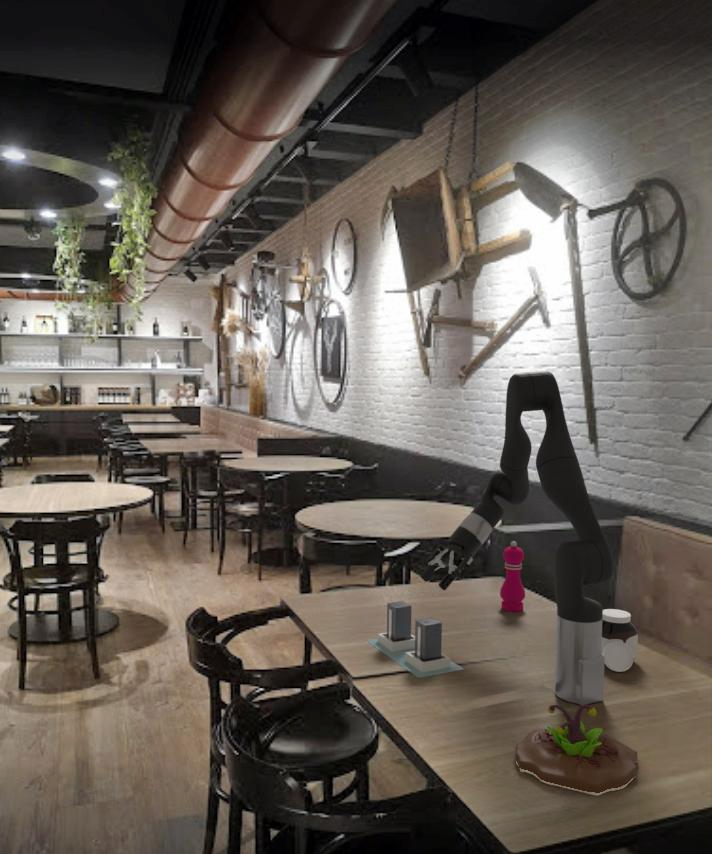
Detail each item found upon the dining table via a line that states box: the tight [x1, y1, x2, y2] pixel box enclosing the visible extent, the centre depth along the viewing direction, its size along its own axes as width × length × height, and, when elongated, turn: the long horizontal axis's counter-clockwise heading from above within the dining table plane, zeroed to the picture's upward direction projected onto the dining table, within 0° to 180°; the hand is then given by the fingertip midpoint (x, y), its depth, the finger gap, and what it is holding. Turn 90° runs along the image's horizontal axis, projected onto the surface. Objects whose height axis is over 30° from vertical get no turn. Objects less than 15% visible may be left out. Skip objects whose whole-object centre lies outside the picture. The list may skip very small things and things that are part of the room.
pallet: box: [365, 631, 464, 679], centre depth 181 cm, size 26×12×4 cm, turn 26°
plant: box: [514, 704, 638, 793], centre depth 133 cm, size 20×20×11 cm
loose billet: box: [386, 600, 412, 642], centre depth 187 cm, size 4×5×10 cm
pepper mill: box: [499, 540, 526, 613], centre depth 221 cm, size 7×7×20 cm
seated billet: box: [414, 617, 443, 662], centre depth 174 cm, size 4×5×10 cm
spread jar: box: [601, 608, 639, 673], centre depth 179 cm, size 12×11×12 cm
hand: (432, 583), depth 190 cm, fingers open, 8 cm apart
